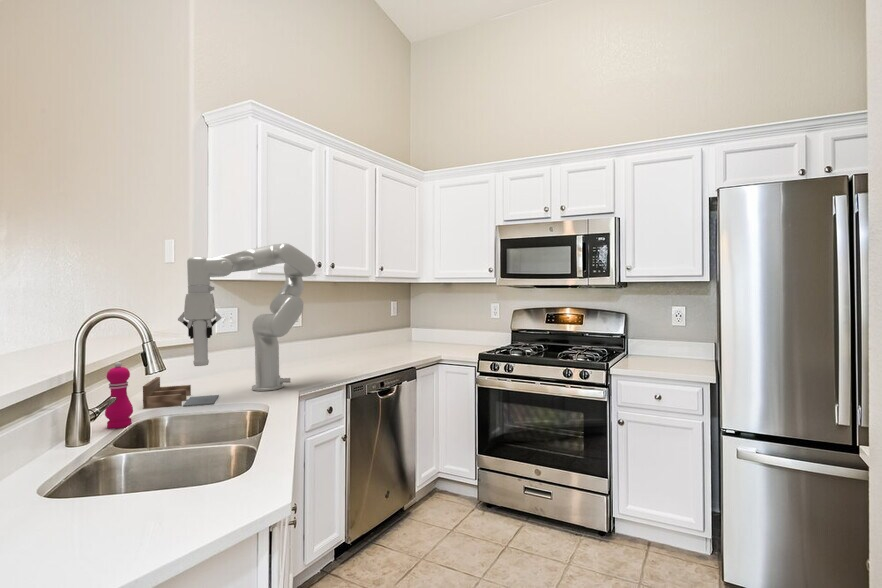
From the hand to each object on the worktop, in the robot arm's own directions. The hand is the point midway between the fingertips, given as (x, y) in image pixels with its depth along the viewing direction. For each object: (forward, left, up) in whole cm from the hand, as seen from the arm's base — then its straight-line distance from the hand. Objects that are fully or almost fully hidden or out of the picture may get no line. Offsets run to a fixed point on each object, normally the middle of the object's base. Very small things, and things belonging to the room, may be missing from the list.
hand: (200, 337), depth 177 cm
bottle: (0, 0, -11) cm, 11 cm away
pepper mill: (+19, +27, -24) cm, 41 cm away
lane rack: (+12, -4, -24) cm, 27 cm away
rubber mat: (0, 0, -24) cm, 24 cm away
